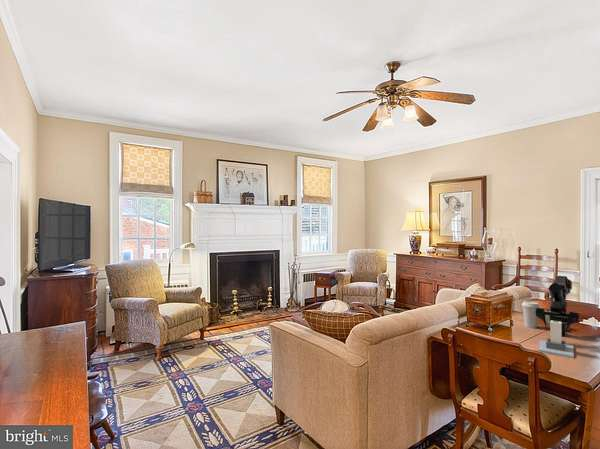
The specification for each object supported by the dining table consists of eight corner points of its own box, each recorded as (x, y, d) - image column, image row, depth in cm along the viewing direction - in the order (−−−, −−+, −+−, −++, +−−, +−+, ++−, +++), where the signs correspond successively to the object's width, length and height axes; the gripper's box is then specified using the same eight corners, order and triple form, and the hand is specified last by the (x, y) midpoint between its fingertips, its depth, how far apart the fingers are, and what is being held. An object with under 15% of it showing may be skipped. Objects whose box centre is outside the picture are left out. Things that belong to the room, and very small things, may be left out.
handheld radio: (547, 320, 229) (572, 332, 205) (542, 320, 230) (566, 332, 205) (547, 310, 229) (571, 321, 205) (541, 310, 230) (565, 321, 205)
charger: (550, 345, 180) (550, 319, 180) (561, 347, 177) (561, 321, 177) (550, 347, 177) (550, 321, 177) (561, 349, 174) (561, 323, 174)
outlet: (540, 341, 188) (540, 334, 188) (573, 347, 180) (573, 339, 180) (538, 351, 174) (538, 343, 174) (573, 358, 166) (573, 349, 166)
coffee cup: (539, 325, 218) (539, 301, 218) (540, 329, 210) (540, 304, 210) (521, 323, 223) (521, 300, 223) (521, 327, 215) (521, 303, 215)
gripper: (535, 292, 193) (534, 317, 184) (578, 297, 181) (579, 323, 173) (536, 304, 199) (535, 328, 190) (578, 309, 187) (579, 334, 179)
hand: (556, 328), depth 183 cm, fingers open, 9 cm apart
